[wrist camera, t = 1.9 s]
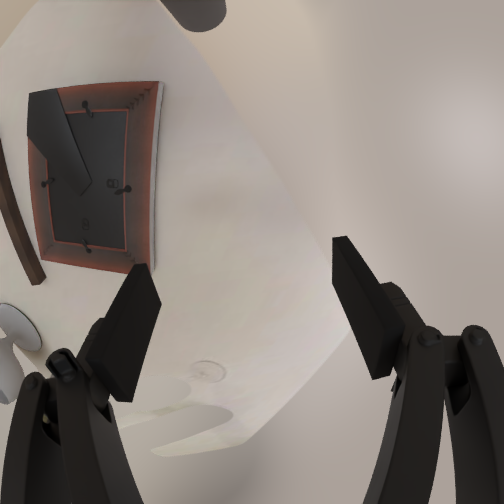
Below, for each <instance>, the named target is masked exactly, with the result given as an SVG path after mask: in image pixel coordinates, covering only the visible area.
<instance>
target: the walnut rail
mask: <svg viewBox="0 0 504 504" xmlns="http://www.w3.org/2000/svg"><path fill="white" fill-rule="evenodd" d="M0 210H1V213H2V216H3V219H4V222H5V224H6V227H7V230H8V232H9V235H10V237H11V240H12V242H13V245H14V247H15V250H16V252H17V254H18V257H19V259H20V261H21V263H22V266H23V268H24V270H25V272H26V274H27V276H28V278H29V280H30V282H31V284H32V285H40V284H41V283H42V282H43V280H44V279H45V278H46V276H45V274H44V272H43V269H42V267H41V265H40V263H39V261H38V258H37V256H36V254H35V251H34V249H33V246H32V244H31V242H30V239H29V236H28V234H27V231H26V229H25V226H24V223H23V220H22V218H21V215H20V212H19V209H18V206H17V203H16V200H15V196H14V193H13V190H12V186H11V183H10V179H9V175H8V171H7V168H6V163H5V159H4V155H3V150H2V145H1V140H0Z"/></svg>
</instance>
